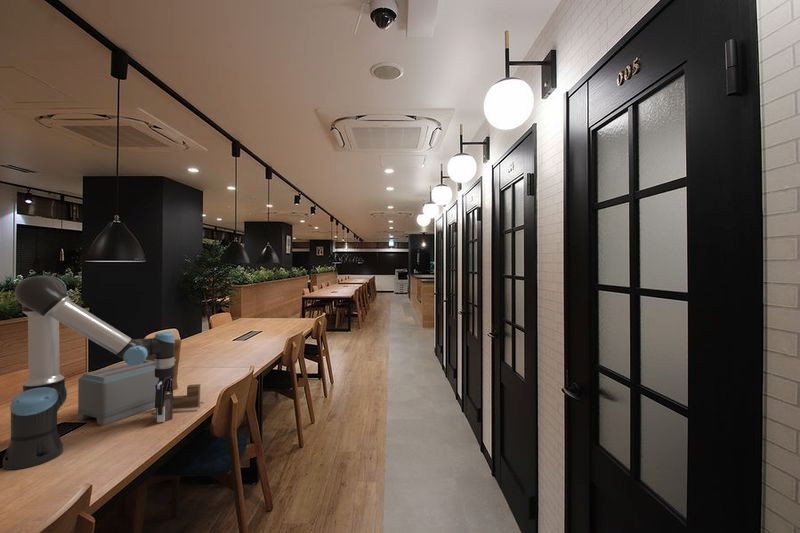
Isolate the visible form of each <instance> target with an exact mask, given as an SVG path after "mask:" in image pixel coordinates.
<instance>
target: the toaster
mask: <svg viewBox="0 0 800 533" xmlns="http://www.w3.org/2000/svg"><path fill="white" fill-rule="evenodd" d="M154 363H155V361H150V360H145V361H144V362H142V363H141V364H139V365H134V366H133V365H129V364H127V363H124V364H120V365H116V366H112V367H111V366H110V367H108V368H107V367H106V368H101V369H98V370H95V371H89V372H85V373H83V375H81V376H80V377H79V378H78V379H77V382H78V383H77V384H78V390H77V395H78V398H77V399H78V400H77V405H78V406H77V412H78V413H77V418H78V420H79V421H84V420H86V419H87V420H88V419H89V418H95V419H96V423H97V424H98V425H99V426H102V427H103V426H107V425H109V424H113V423H115V422H117V421H120V420H121V421H122V420H123V419H126V418H129V417H132V416H134V415H138V414H141V413H143V412H146V411H149V410H152V409H155V408H154V407H155V393H156V389H155V385H158V381H159V378H156V377H155V367H154Z"/></svg>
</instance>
